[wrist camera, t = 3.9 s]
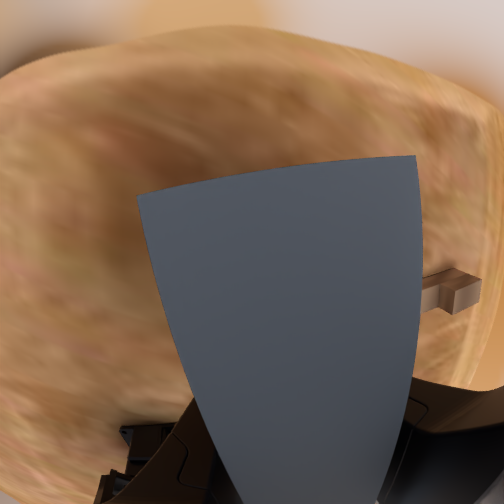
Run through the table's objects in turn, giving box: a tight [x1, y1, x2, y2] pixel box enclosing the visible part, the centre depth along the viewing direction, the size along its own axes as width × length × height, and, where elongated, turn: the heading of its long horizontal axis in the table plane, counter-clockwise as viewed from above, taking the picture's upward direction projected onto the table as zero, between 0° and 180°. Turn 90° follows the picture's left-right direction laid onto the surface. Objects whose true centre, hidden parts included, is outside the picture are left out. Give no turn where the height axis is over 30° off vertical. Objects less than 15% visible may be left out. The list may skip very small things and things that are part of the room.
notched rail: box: [419, 268, 482, 324], centre depth 20 cm, size 20×2×4 cm, turn 99°
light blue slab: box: [137, 155, 423, 504], centre depth 7 cm, size 14×2×6 cm, turn 10°
